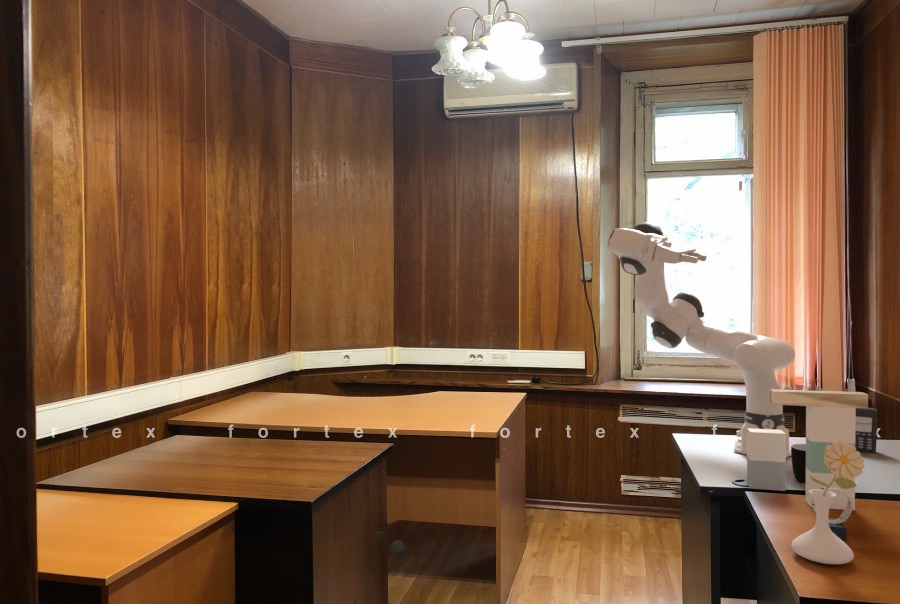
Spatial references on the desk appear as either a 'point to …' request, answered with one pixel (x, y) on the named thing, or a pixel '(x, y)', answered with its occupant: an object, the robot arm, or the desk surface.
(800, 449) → the mug
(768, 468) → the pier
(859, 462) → the flower in vase
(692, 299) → the robot arm
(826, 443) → the tower
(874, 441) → the card reader
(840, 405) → the batten
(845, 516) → the watch
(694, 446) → the desk surface
